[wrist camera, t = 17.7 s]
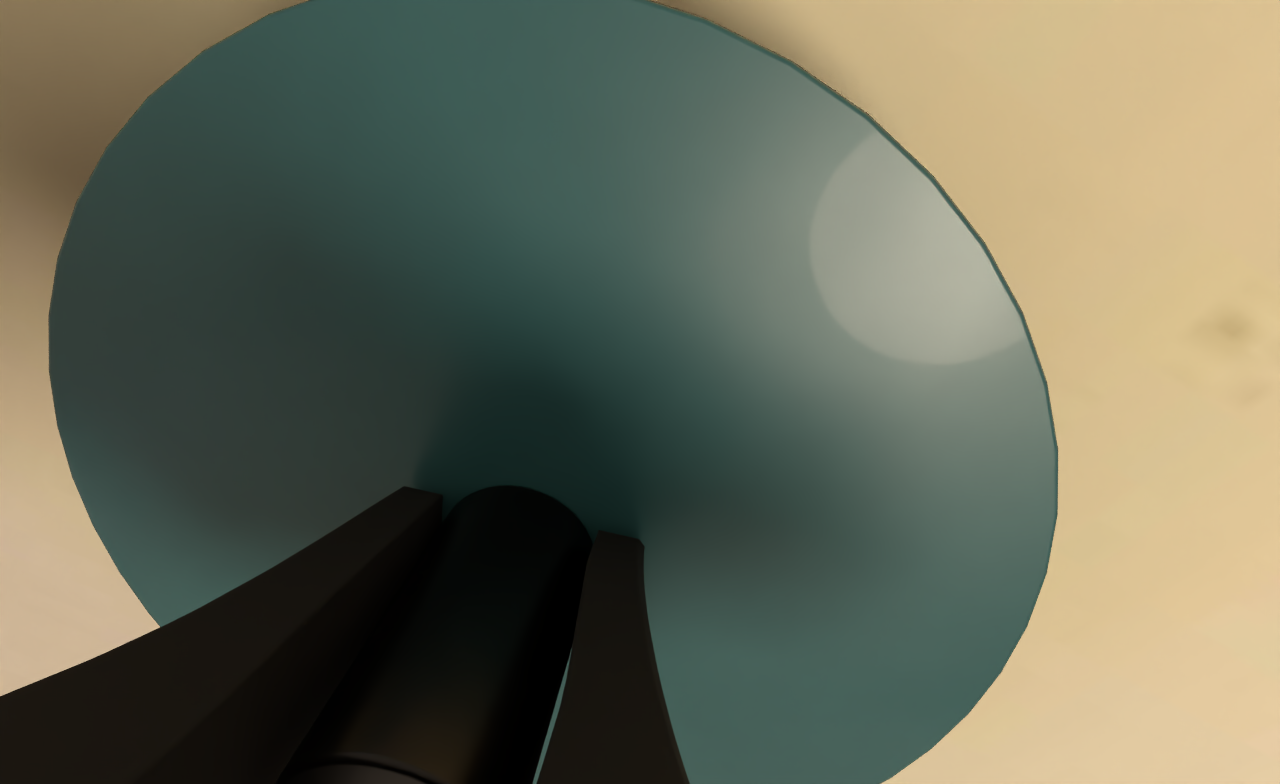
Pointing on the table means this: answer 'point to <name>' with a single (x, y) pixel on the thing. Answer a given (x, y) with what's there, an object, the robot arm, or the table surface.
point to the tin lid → (561, 379)
